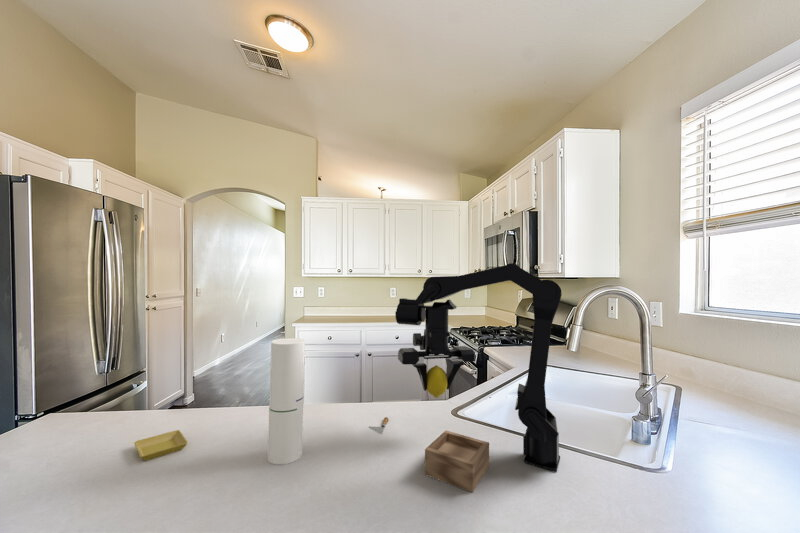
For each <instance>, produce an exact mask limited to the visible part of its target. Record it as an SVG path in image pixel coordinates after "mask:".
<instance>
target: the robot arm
mask: <svg viewBox="0 0 800 533" xmlns="http://www.w3.org/2000/svg"><path fill="white" fill-rule="evenodd" d="M510 281H511V282H512V283H514V284H516V285H517V286H519V287H521V288H522V289H523V290H525V291H527V292H528V293H530V294H532V305H533V308H532V309H533V318H534V322H533V330H532V338H531V347H530V355H529V363H528V372H527V377H526V381H525V384H521V383H518V386H517V391H516V393H517V398H516V400H515V401H516V402H515V406H514V407H515V408H514V409H515V411H517V415H518V420H520V422H521V423H522V424H523V425H524V426H525V427H526V430H525V432H524V435H523V436H522V437H523V439H522V441H523V446H522V447H523V450H522V451H523V456H524V458H523V462H524V463H527V464H530V465H533V466H536V467H540V468H544V469H546V470H550V471H553V472H557V471H558V469H559V466H560V465H559V464H560V461H561V456H560V451H559V450H560V447H559V446H560V438H559V437H560V432H559V431H558V425H557V417H556V416H555V415H554V414H553V413H552V411H550V410H549V409H548V407H547V403H546V402H547V401H546V400H547V399H546V386H545V384H546V378H547V376H546V375H547V367H548V359H549V352H550V351H549V350H550V344H551V333H552V326H553V322H554V319H555V316H556V313H557V310H558V307H559V305H560V301H561V298H562V289H561V286H559V284H558V283H557V282H555V281H553V280H551V279H542V280H541V279H540V278H539V277H537V276H535V275H533V274H532V273H531V272H528V271H526V270H525V269H523V268H522V267H520V265H518V264H517V263H515V262H513V263H512V262H511V263H507V264H506V265H502V266H498V267H493V268H492V267H491V268H488V269H484V270H479V271H475V272H469V273H466V274H461V275H450V276H449V275H447V276H446V275H445V276H444V275H442V276H431V277H428V278H427V279H426V280H425V282H424V283H423V287H422V291H421V292H420V294H418V296H417V297H416V298H415V299H414V298H413V299H411V298H406V297H405V298H402V297H401V298H399V300H398V302H399V303H398V305H397V306H396V307H397V308H396V311H395V321H396V323H397V324H398V325H404V326H405V325H407V326H421V325H422V322H423V323H424V322H425V327H424V328H425V329H424V330H423V335H422V334H421V332H418V333H417V332H416V333H415V332H414V333H413V334H412V345H413V347H402V348H399V350H398V352H397V360H398V361H399V362H400V363H401V364H402V365H411V366H413V367H414V368H415V369H416V371H417V373H418V376H419V379H420V382H421V385H422V389H423V391H424V392H426V391H427V372H428V370H427V364H426V363H425V360H431V359H433V360H436V359H437V360H438V359H445V364H446V370H445V373H446V376H447V382H448V383H447V389H446V391H447V390H448V391H449V390H450V388H451V386H452V383H453V381H454V379H455V376H456V375H457V373H458V371H459V370H460V368H461V367H462V366H465V363H470V362H476V352H475V350H474V349H472V348H470V347H468V346H466V345H464V346H463V345H461V346H457V345H455V346H453V348H452V350H451V348H449V337H451V332H450V331H449V310H451V311H453V310H455V309H457V308H458V307H457V305H456V304H454V302H453V301H452V300H451V299H450V298H449V297H451V296H454V295H456V294H459V293H460V292H463V291H465V290H471V289H474V288H475V289H476V288H479V287H484V286H485V287H486V286H489V285H496V284H500V283H504V282H505V283H506V282H510ZM446 298H449V299H446ZM443 299H446V301H445V302H443V301H438V300H443ZM428 303H432V305H425V304H428ZM415 347H419V350H420V351H418V350H417V349H416V348H415Z"/></svg>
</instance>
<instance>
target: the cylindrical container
mask: <svg viewBox="0 0 800 533" xmlns="http://www.w3.org/2000/svg"><path fill="white" fill-rule="evenodd" d="M305 352H306V340H305V339H304V338H278V339H274V340H272V341H271V343H270V370H269V371H270V373H269V374H270V378H269V403H268V404H269V406H268V407H269V408H268V434H267V436H268V437H267V439H268V440H267V461H268V462H269V463H270V464H272V465H287V464H290V463H293V462H296V461H297V460H298V459H300V458H301V456H302V455H303V432H304V431H303V430H304V429H303V427H304V425H303V424H304V421H303V420H304V393H305V392H304V389H305V388H304V387H305V358H306V357H305V354H306V353H305Z"/></svg>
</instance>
